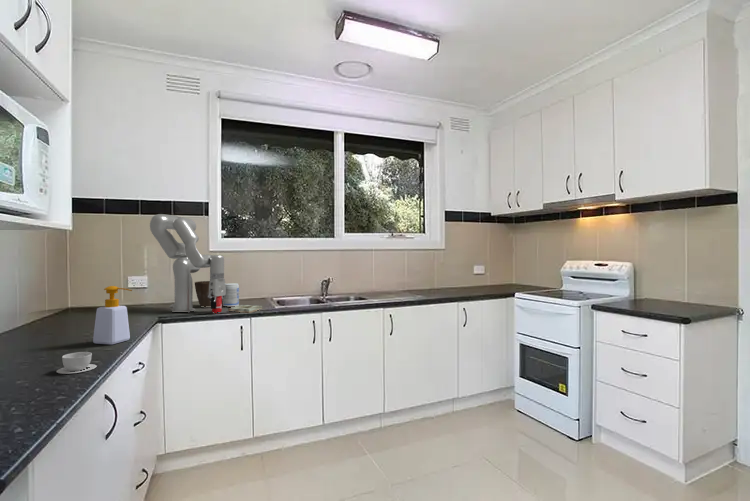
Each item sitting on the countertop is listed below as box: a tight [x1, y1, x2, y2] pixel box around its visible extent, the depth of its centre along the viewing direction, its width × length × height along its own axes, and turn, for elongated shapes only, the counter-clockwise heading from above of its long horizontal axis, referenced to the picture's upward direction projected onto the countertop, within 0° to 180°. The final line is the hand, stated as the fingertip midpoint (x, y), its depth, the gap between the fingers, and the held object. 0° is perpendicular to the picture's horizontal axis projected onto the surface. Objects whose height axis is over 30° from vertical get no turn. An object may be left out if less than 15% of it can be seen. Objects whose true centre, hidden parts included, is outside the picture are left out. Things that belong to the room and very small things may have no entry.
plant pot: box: [194, 280, 211, 307], centre depth 259 cm, size 15×15×16 cm
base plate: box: [227, 304, 263, 314], centre depth 245 cm, size 14×14×2 cm
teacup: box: [56, 351, 98, 375], centre depth 125 cm, size 10×10×5 cm
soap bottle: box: [92, 285, 133, 346], centre depth 161 cm, size 10×14×22 cm
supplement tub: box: [222, 282, 240, 306], centre depth 261 cm, size 10×10×15 cm
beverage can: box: [211, 295, 223, 314], centre depth 236 cm, size 5×5×12 cm
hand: (216, 307), depth 236 cm, fingers closed on beverage can, 5 cm apart
